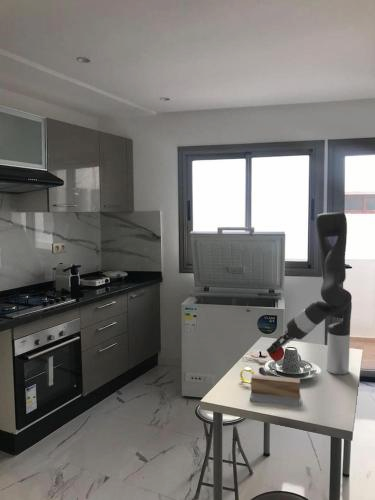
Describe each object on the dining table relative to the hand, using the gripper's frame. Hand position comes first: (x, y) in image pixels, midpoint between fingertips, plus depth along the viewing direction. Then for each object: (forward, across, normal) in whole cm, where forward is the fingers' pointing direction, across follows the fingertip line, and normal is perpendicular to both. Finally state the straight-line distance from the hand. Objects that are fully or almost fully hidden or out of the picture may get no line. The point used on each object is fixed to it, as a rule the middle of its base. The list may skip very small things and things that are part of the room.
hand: (271, 349), depth 163 cm
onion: (+2, 0, +4) cm, 5 cm away
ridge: (+11, 0, +13) cm, 17 cm away
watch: (+22, -6, +3) cm, 24 cm away
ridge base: (+12, 0, +14) cm, 18 cm away
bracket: (+19, -16, +7) cm, 26 cm away
